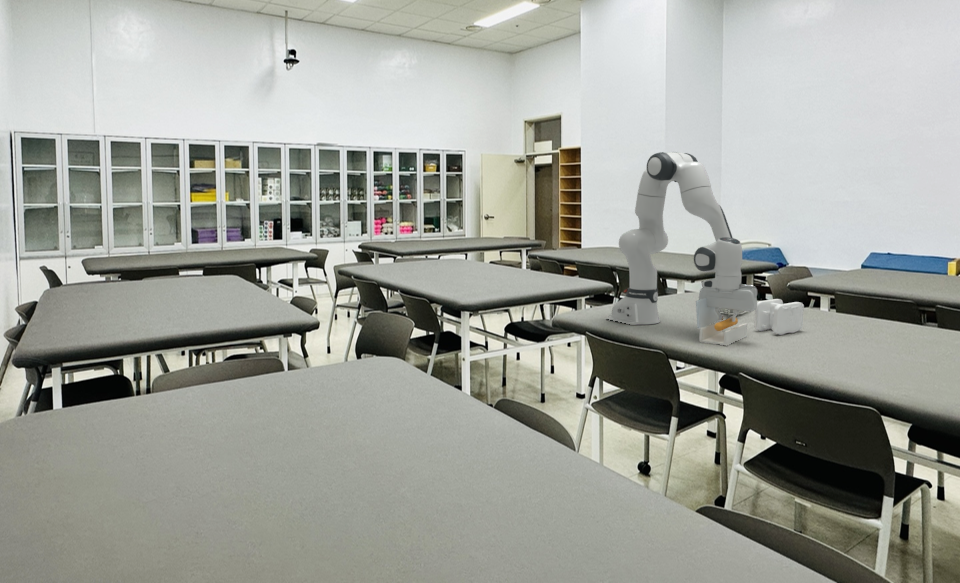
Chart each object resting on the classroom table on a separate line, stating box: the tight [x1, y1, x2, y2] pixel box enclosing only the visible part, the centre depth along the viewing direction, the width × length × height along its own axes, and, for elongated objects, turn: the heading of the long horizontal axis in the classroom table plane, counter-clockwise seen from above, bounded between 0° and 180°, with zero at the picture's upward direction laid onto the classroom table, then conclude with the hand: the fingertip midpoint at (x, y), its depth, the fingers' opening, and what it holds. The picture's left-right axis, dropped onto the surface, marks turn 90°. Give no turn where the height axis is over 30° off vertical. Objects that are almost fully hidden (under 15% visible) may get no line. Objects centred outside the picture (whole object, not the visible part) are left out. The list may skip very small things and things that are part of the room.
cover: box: [695, 298, 720, 329], centre depth 235 cm, size 10×18×1 cm
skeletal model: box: [720, 308, 745, 315], centre depth 276 cm, size 16×9×25 cm
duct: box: [698, 320, 748, 347], centre depth 232 cm, size 10×18×5 cm, turn 137°
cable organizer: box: [753, 298, 805, 336], centre depth 242 cm, size 15×11×12 cm
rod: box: [714, 317, 739, 331], centre depth 231 cm, size 3×16×3 cm, turn 137°
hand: (726, 320), depth 231 cm, fingers open, 3 cm apart
